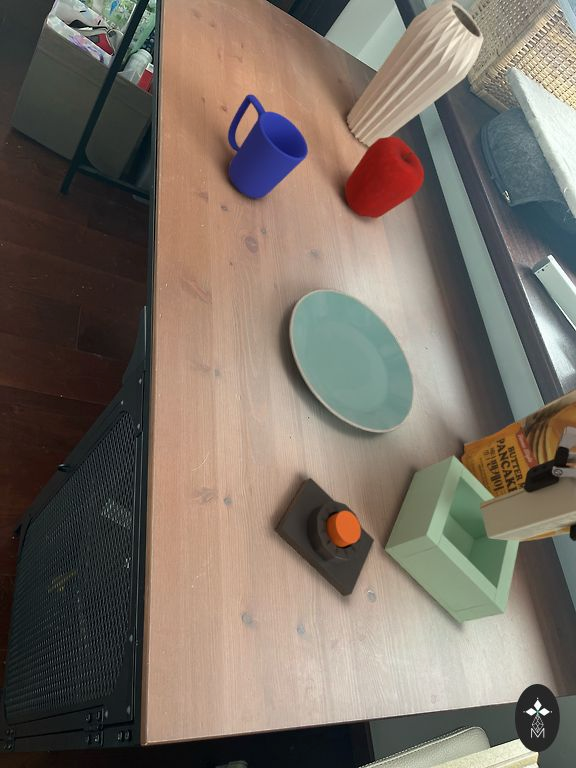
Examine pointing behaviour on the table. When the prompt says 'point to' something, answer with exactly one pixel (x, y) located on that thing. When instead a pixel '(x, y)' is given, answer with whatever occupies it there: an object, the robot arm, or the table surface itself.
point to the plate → (351, 361)
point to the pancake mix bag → (521, 450)
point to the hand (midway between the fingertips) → (550, 505)
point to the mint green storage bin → (452, 543)
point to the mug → (264, 151)
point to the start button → (343, 528)
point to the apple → (384, 178)
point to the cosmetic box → (531, 511)
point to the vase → (417, 71)
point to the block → (323, 537)
